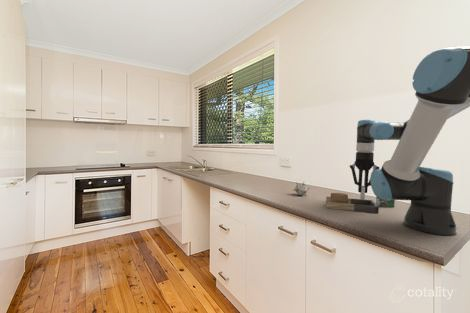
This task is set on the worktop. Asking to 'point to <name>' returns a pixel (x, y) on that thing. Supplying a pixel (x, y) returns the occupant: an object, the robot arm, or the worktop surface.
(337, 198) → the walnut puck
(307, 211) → the worktop surface
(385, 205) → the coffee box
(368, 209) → the channel
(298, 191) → the grey succulent plant
